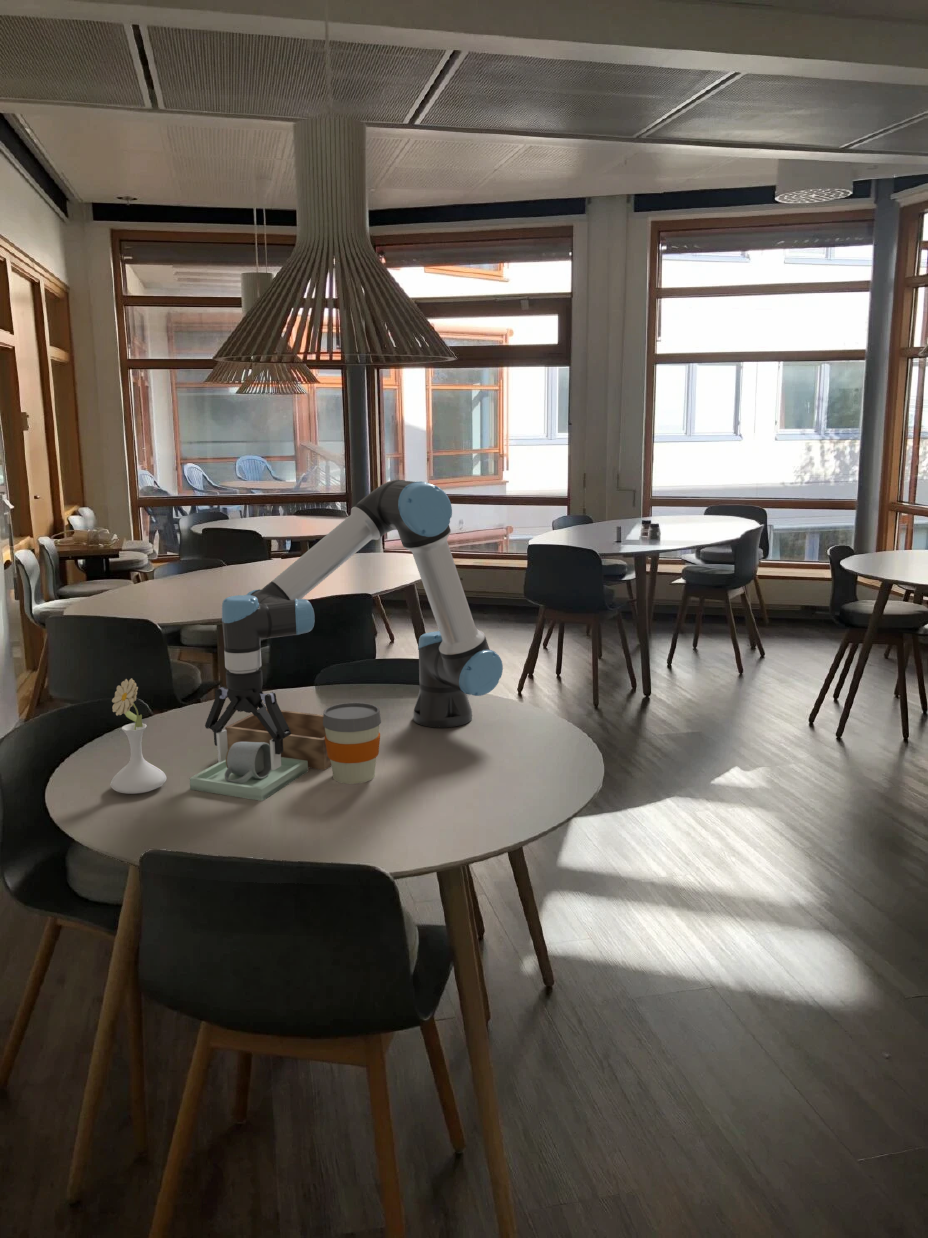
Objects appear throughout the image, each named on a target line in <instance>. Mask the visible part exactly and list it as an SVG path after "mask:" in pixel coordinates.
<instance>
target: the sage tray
mask: <svg viewBox="0 0 928 1238" xmlns="http://www.w3.org/2000/svg"><path fill="white" fill-rule="evenodd" d="M227 769H228V768H227V766H226V760H224V761H222V762H218V761H217V763H214V764H213V765H212V766H210V767H207V768H206V769H204V770H201V771H200V772H198V773H196V774H195V775H192V776H191V777H190V778H189V788H190V790H191V791H192V790H193V791H199V792H204V793H212V794H217V795H223V796H229V797H236V798H241V799H248V800H254V801H259V802H263V801H265V800H266V799H267V798H270V796H272V795H274V794H275V793H276V792H279V791H280V790H283V788H285V787H286V786H288V785H290V784H291V783H292V782H294V781H295V780H297V779H299V778H301V777H302V776H303V775H305V774H306V773H308V772H309V768H308V761H306V760H299V759H292V758H284V757H281V766H280V767H279V768H277V769H275V770H271V772H270V773H269V775H268V776H267V777H265V778H263V779H258V778H252V777H251V778H250V779H249V780H248V781H247V782H245V783H243V784H237V783H230V782H227V781H226V779H225V776H224V775H225V772H226V770H227ZM241 777H243V776H240V775H235V774H233V773H231V774H230V776H229V778H228V779H230V780H236V779H239V778H241Z"/></svg>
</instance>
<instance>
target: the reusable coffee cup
mask: <svg viewBox="0 0 928 1238" xmlns="http://www.w3.org/2000/svg"><path fill="white" fill-rule="evenodd" d="M322 715H323V726H324V727H325V732H326V735H325V743H326V749H327V755H328V758H329V759H330V761H331V766H330V767H331V771H332V776H333V777H332V778H333V780H334V781H335V782H338V783H340V784H346V785H357V784H365V783H367V782H370V781H372V780H373V779H374V777H375V773H376V763H377V757H378V756H379V751H380V743H381V742H380V741H381V733H380V725H381V724H382V719H381V718H382V717H381V711H380V708H379V707H378V706H377V705H376V704H375V705H374V704H372V703H368V702H344V703H338V704H333V705H331V706H328V707H326V708H325V709H324V710H323V714H322Z"/></svg>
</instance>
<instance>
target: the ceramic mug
mask: <svg viewBox="0 0 928 1238" xmlns="http://www.w3.org/2000/svg"><path fill="white" fill-rule="evenodd" d="M226 766H227V768H228V769H227V770H226V772H225V775H224V776H225V779H226V781H227V782H230V783H237V784H243V783H245V782H247V781H248V780H249V779H250V778H251V777H252V778H258V779H263V778H265V777H267V776H268V775H269V773H270V772H271V754H270V745H269V744H268V743H265V742H236V743H234V744H232V745H231V746H230V748H229V749H228V751H227V754H226ZM231 773H233V774H235V775H240V776H243V777H241V778H239V779H236V780H230V779H228V778H229V776H230V774H231Z"/></svg>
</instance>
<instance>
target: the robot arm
mask: <svg viewBox="0 0 928 1238" xmlns="http://www.w3.org/2000/svg"><path fill="white" fill-rule="evenodd" d="M452 517H453V506H452V503H451V500H450V498H449V496H448V495H447V493H446V492H445V491H444V490H443V489H442V488H441V487H439V486H437V485H435V484H432V483H429V482H427V481H418V480H417V481H411V480H404V479H392V480H390V481H386V482H385V483H383V484H381V485H379V486H378V487H377V488H375V489H373V490H372V491H371V492H370V493H368V494H367V495H366V496H364V497H363V498H362V499H361V500H360V501H358V502H357V503H356V504H355V505H354V506H353V507H352V508H351V509H350V515H348V517H346V518H345V519H343V521H341V522H340V523H339V524H338V525H337V526H336V527H335V528H333V529H332V530H331V531H330V532H329V533H326V535H325V536H323V538H321V539H320V540H319V541H318V542H317V543H315V544H314V545H313V546H312V547H311V548H309V549H308V550H307V551H306V552H304V553H303V554H302V555H301V556H300V557H298V558H297V559H296V560H295V561H294V562H293V563H291V564H290V565H289V566H288V567H287V568H285V569H284V570H283V571H282V572H281V573H280V574H279V575H277V576H276V577H275V578H274V579H273V580H272V581H271V582H269V583H268V584H266V585H265V586H264V587H263V588H261V589H260V588H259V589H254V590H251V591H249V592H248V593H247V594H243V595H239V594H238V595H237V594H236V595H231V596H229V597H226V598H224V599H223V601H222V605H221V622H222V633H223V645H224V667H225V669H226V672H225V682H226V686H221V687H219V688H217V689H215V692H214V700H213V703H212V706H211V709H210V711H209V713H208V716H207V718H206V721H205V723H204V724H205V725H204V726H205V727H204V728H205V729H207V730H208V729H209V730H211V731H212V732H213V743H214V746H216V748H217V750H216V751H217V763H218V762H222V761H224V760H226V754H227V751H228V743H227V730H225V727H226V725H227V724H228V722H229V721H230V720H231V718H232V717H233V716H234V714H235V713H236V712H238V713H239V712H240V713H241V712H244V713H248V714H251V713H252V714H253V715H254V716H257V718H258V719H259V720H260V722H261V723H262V725H263V726H264V727H265V729H266V730H267V731H268V733H269V734H270V735H271V737H272V738H273V739H272V740H270V754H271V770H275V769H277V768H279V767H280V766H281V753H283V739H284V738H285V737H287V736H289V735H291V731H290V729H289V727H288V725H287V723H286V721H285V718H284V716H283V714H282V712H281V710H282V709H281V708H280V706H279V703H278V701H277V700H278V699H277V695H276V692H275V691H272V692H270V693H264V692H263V689H262V688H263V683H264V682H263V681H264V679H263V670H262V668H261V667H262V652H261V651H262V649H261V648H262V645H261V641H262V640H263V639H264V640H266V639H274V638H280V637H289V636H299V635H301V634H302V635H303V634H306V633H309V632H311V631H312V630H313V629H314V626H315V619H316V618H315V610H314V608H313V606H312V603H311V602H310V601H309V600H308V599H305V598H304V597H306V596H307V595H308V594H309V593H311V592H312V590H314V589H315V588H316V587H317V586H318V585H319V584H321V583H322V582H323V581H325V580H326V579H327V578H328V577H329V576H331V575H332V574H333V573H334V572H336V570H338V568H339V567H341V566H342V565H343V564H344V563H346V562H347V561H348V560H349V559H350V558H351V557H352V556H354V555H355V554H356V553H357V552H359V551H360V550H361V549H362V548H364V547H365V546H366V545H367V544H368V543H369V542H370V541H372V540H375V541H378V540H380V539H381V538H382V537H383V536H384V535H386V534H388V533H390V532H392V531H395V530H396V531H397V533H398V536H399V540H400V543H401V545H402V547H403V549H406V550H407V551H410V552H411V553H412V557H413V559H414V562H415V565H416V568H417V571H418V574H419V577H420V580H421V582H422V585H423V589H424V591H425V594H426V597H427V600H428V603H429V606H430V608H431V612H432V614H433V617H434V620H435V623H436V626H437V628H438V630H437V631H429V632H426V633H423V634H422V635H420V636H419V638H418V647H417V651H418V670H419V671H418V674H419V677H418V678H419V680H418V681H419V691H418V695H417V698H416V701H415V704H414V708H413V712H412V713H413V717H412V718H413V721H414V723H415V724H418V725H420V726H423V727H427V728H439V729H440V728H453V727H459V726H463V725H466V724H468V723H470V722H471V721H472V720H473V711H472V710H473V709H472V707H471V703H470V701H469V698H468V695H469V696H470V695H471V696H475V697H481V696H484V695H488V694H489V693H491V692H492V691H493V690H494V689H495V688H496V687H497V686H498V684H499V682H500V679H501V678H502V676H503V669H504V665H503V661H502V658H501V656H500V654H498V653H497V652H496V651H494V650H493V649H490V647H489V643H488V640H487V637H486V634H485V632H483V630H479V629H478V628H477V627H476V624H475V621H474V619H473V615H472V611H471V609H470V606H469V603H468V600H467V597H466V594H465V591H464V588H463V587H464V586H463V585H462V581H461V578H460V576H459V573H458V569H457V566H456V564H455V563H456V562H455V560H454V557H453V555H452V551H451V548H450V545H449V543H448V542H449V541H448V538H449V536H450V534H452V533H451V532H452V530H451V527H450V524H451V518H452ZM227 698H228V700H229V701H230V702H229V704H228V705H227V706H226V708H225V710H224V711H223V713H222V710H223V708H224V705H225V702H226V700H227ZM266 708H267V710H268V712H269V713H268V712H267V710H266ZM221 713H222V714H221ZM220 715H221V716H220Z"/></svg>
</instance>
